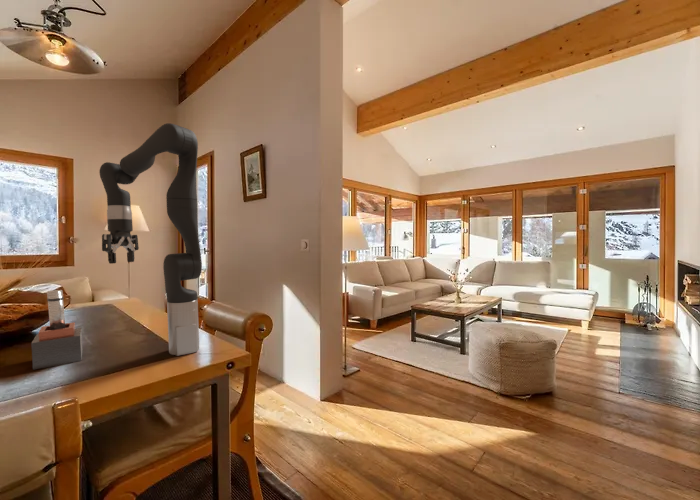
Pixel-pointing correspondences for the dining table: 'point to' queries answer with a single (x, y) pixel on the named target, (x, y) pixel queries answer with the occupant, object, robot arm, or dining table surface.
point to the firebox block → (57, 346)
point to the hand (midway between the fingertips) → (122, 262)
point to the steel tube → (56, 309)
